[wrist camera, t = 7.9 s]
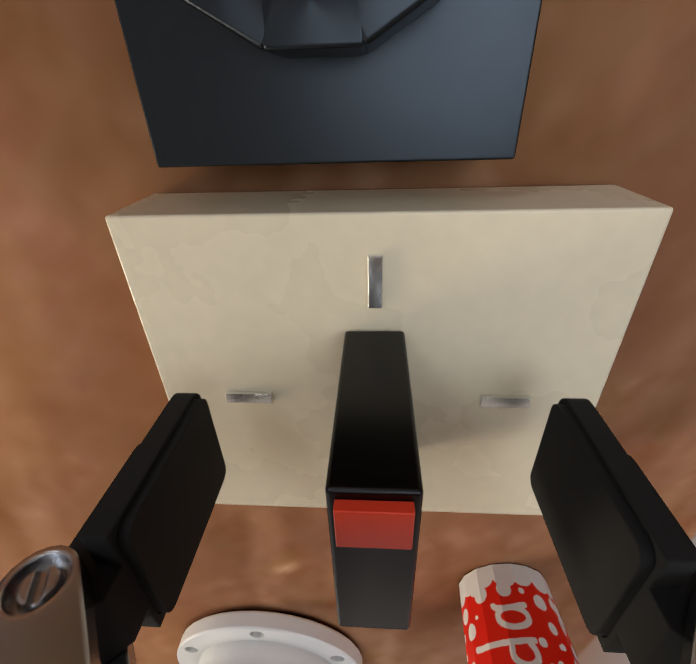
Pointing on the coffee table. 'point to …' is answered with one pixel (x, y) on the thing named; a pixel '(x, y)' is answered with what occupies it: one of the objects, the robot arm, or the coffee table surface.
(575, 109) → the coffee table surface
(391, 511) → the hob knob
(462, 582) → the beverage cup
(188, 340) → the panel
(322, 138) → the power box
